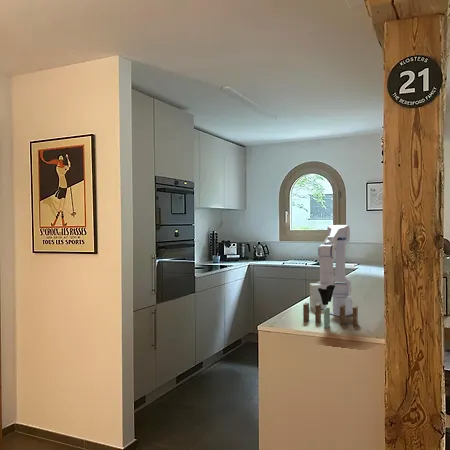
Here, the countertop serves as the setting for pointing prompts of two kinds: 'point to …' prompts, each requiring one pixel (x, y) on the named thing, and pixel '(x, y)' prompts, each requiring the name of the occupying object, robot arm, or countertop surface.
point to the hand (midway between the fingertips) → (326, 303)
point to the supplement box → (315, 296)
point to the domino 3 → (326, 317)
